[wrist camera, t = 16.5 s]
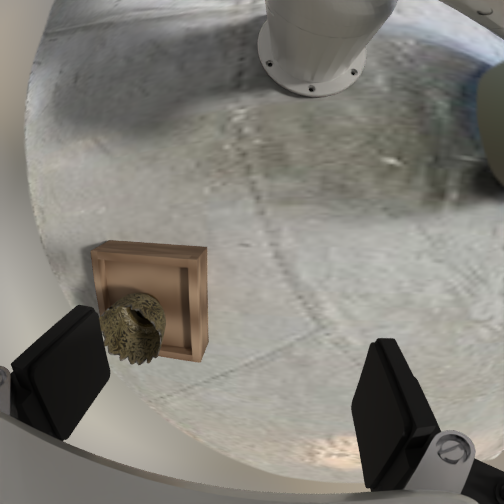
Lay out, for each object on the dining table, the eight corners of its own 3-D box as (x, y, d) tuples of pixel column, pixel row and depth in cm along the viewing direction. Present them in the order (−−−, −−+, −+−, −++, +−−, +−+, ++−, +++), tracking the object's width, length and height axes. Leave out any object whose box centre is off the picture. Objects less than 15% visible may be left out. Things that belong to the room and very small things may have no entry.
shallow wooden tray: (111, 239, 40) (90, 250, 35) (208, 245, 39) (196, 259, 34) (122, 326, 45) (106, 345, 39) (209, 339, 44) (200, 362, 38)
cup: (117, 278, 37) (88, 307, 29) (171, 275, 37) (151, 306, 29) (130, 329, 39) (108, 364, 32) (181, 328, 39) (166, 366, 31)
